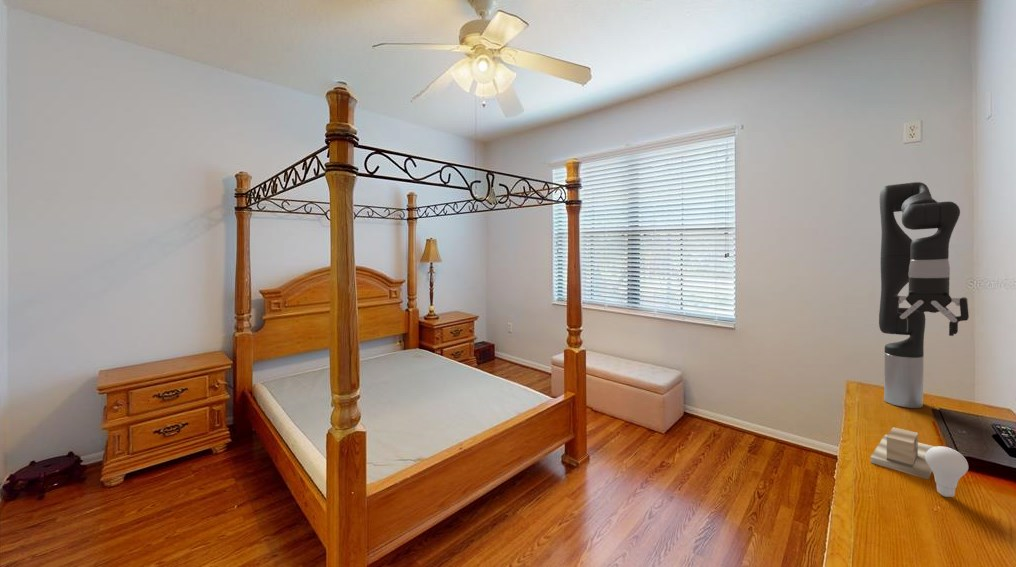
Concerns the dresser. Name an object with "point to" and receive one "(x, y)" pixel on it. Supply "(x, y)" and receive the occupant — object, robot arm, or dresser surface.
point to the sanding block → (902, 446)
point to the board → (918, 469)
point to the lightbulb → (946, 468)
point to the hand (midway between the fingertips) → (927, 333)
